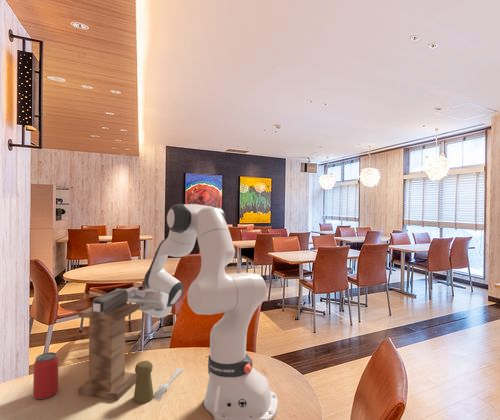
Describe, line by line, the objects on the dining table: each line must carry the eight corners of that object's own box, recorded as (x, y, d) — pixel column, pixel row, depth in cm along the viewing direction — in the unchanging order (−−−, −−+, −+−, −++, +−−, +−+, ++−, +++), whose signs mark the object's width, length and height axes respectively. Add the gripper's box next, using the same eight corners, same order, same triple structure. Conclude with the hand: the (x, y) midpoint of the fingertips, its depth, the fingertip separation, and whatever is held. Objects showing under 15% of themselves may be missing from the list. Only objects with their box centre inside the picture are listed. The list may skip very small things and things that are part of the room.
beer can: (28, 397, 97) (28, 358, 97) (48, 386, 103) (49, 350, 103) (42, 402, 95) (43, 362, 95) (63, 390, 101) (63, 353, 101)
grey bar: (139, 293, 118) (139, 286, 118) (99, 311, 96) (100, 304, 96) (133, 292, 118) (133, 286, 118) (93, 311, 97) (93, 303, 97)
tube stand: (139, 379, 108) (140, 291, 108) (117, 400, 96) (118, 300, 96) (103, 374, 110) (104, 288, 110) (78, 394, 99) (79, 297, 99)
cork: (147, 405, 94) (147, 368, 94) (129, 402, 95) (129, 366, 95) (157, 393, 100) (157, 359, 100) (140, 391, 101) (140, 357, 101)
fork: (184, 375, 116) (185, 367, 116) (160, 403, 95) (160, 393, 96) (177, 374, 116) (178, 367, 116) (151, 402, 96) (152, 392, 96)
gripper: (126, 291, 130) (108, 281, 118) (172, 294, 125) (158, 284, 114) (122, 306, 127) (102, 297, 115) (168, 310, 122) (153, 301, 111)
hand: (130, 291), depth 114 cm, fingers closed on grey bar, 2 cm apart
